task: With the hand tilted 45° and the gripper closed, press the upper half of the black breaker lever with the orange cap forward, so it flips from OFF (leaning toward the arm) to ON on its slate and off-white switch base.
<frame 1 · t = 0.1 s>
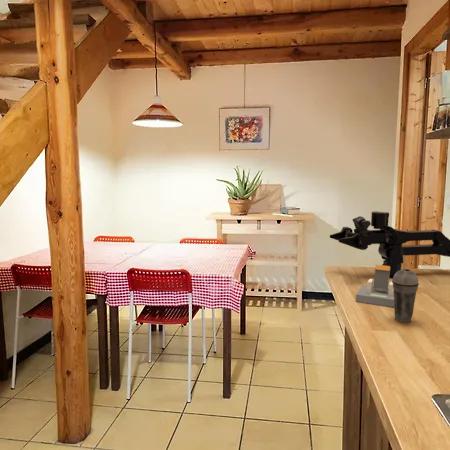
hand: (334, 238, 164), 17 cm above the worktop, tool horizontal, fingers open, 9 cm apart
breaker base: (380, 299, 140), on the worktop
breaker lever: (381, 278, 141), point 7 cm above the worktop, hinge at -25.0°
beverage cup: (403, 320, 123), on the worktop
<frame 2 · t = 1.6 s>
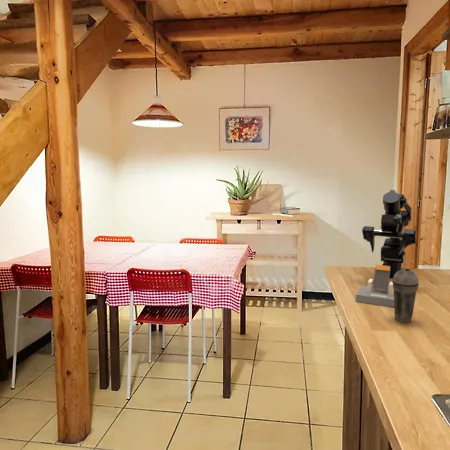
hand: (385, 252, 150), 14 cm above the worktop, tool tilted 45°, fingers open, 9 cm apart
nothing on the worktop moved.
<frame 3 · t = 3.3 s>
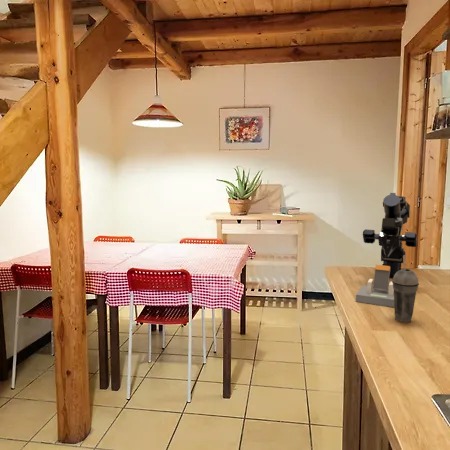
hand: (386, 256, 149), 13 cm above the worktop, tool tilted 45°, fingers closed
nothing on the worktop moved.
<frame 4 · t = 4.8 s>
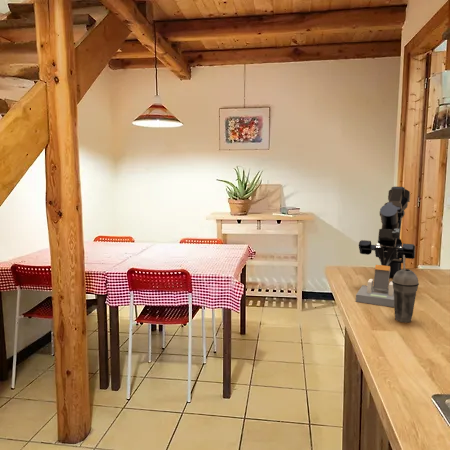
hand: (383, 269, 143), 10 cm above the worktop, tool tilted 45°, fingers closed, pressing on breaker lever
breaker lever: (381, 278, 141), point 7 cm above the worktop, hinge at -24.6°, touching gripper
everything else where it was.
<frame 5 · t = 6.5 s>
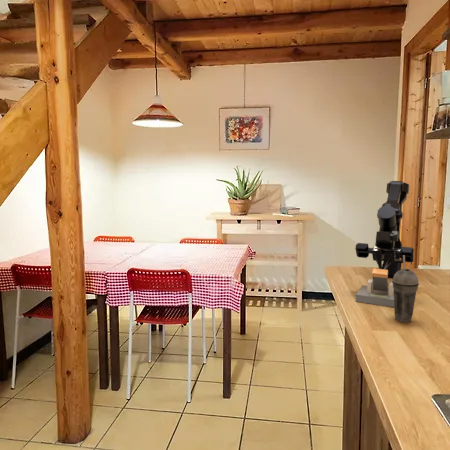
hand: (380, 273, 137), 10 cm above the worktop, tool tilted 45°, fingers closed, pressing on breaker lever
breaker lever: (380, 281, 138), point 7 cm above the worktop, hinge at 27.4°, touching gripper
everything else where it was.
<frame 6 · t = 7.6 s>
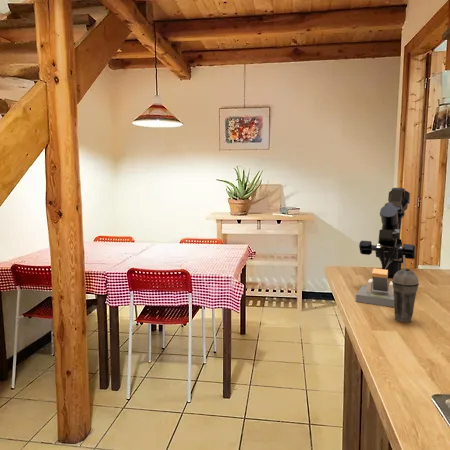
hand: (383, 269, 144), 9 cm above the worktop, tool tilted 45°, fingers closed
breaker lever: (380, 281, 138), point 7 cm above the worktop, hinge at 27.5°
everything else where it was.
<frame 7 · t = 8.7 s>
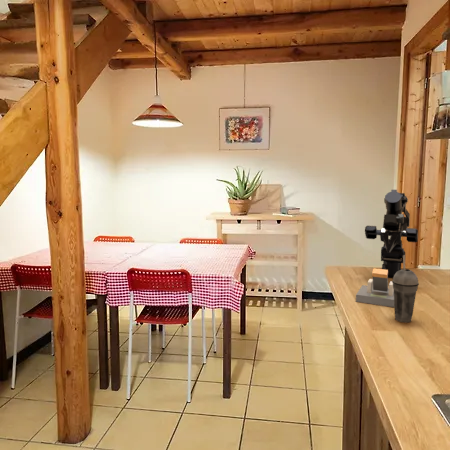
hand: (388, 252, 152), 13 cm above the worktop, tool tilted 45°, fingers closed
nothing on the worktop moved.
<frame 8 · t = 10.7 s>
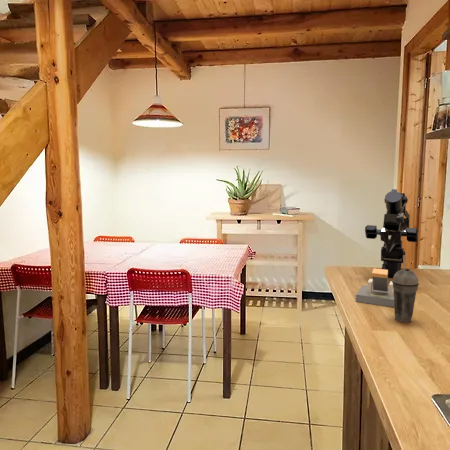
hand: (388, 251, 153), 14 cm above the worktop, tool tilted 45°, fingers closed
nothing on the worktop moved.
at the end: breaker lever at +28° (first picture: -25°); beverage cup moved 0.2 cm from its start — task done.
